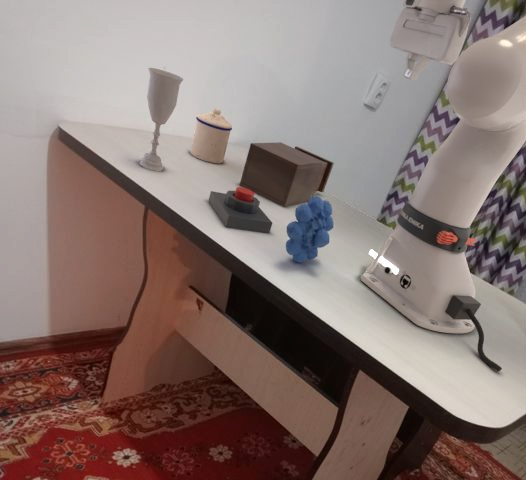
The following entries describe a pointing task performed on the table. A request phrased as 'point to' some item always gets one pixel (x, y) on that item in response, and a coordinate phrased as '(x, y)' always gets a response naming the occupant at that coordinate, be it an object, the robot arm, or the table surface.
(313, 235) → the grapes
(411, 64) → the robot arm
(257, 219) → the control block
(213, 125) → the lidded canister
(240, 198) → the button
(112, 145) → the table surface
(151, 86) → the chalice
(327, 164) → the drawer
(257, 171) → the cabinet
